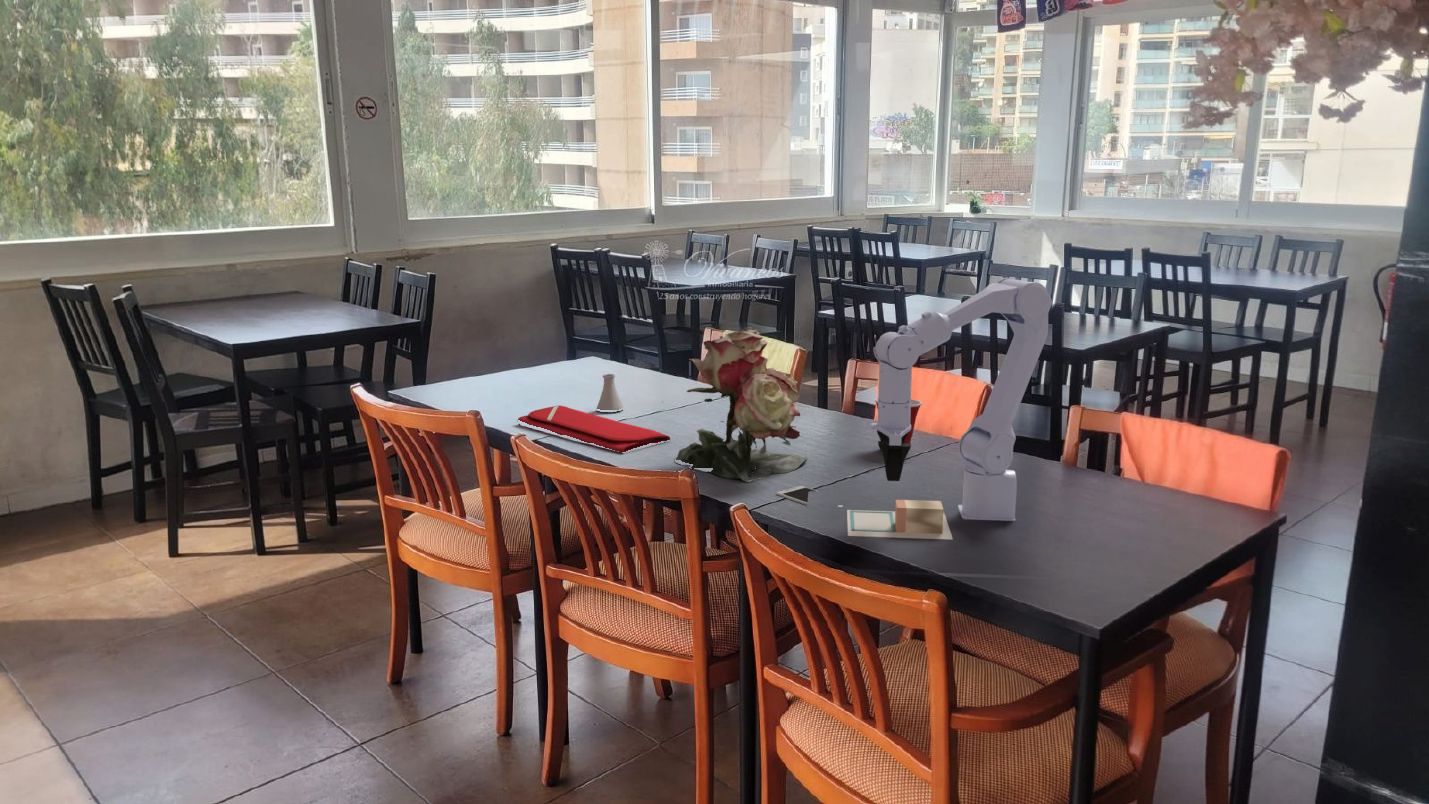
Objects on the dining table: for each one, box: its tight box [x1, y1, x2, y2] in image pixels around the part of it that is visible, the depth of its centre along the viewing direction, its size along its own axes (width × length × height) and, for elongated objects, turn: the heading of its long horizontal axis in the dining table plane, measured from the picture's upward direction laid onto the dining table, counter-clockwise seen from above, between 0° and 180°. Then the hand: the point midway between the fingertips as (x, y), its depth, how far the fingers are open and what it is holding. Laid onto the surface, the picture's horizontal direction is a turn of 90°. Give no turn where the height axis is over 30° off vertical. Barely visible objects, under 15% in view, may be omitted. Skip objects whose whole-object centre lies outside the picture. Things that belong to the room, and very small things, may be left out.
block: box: [894, 499, 945, 534], centre depth 178 cm, size 8×5×4 cm, turn 83°
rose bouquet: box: [662, 326, 808, 483], centre depth 219 cm, size 26×29×30 cm
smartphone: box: [776, 485, 844, 508], centre depth 196 cm, size 7×16×1 cm, turn 39°
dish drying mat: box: [517, 404, 671, 452], centre depth 248 cm, size 16×41×4 cm, turn 47°
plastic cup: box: [874, 397, 923, 443], centre depth 231 cm, size 11×11×12 cm
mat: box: [846, 509, 954, 541], centre depth 181 cm, size 18×14×1 cm
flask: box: [596, 373, 624, 410], centre depth 272 cm, size 7×7×10 cm
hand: (892, 474), depth 180 cm, fingers open, 7 cm apart
